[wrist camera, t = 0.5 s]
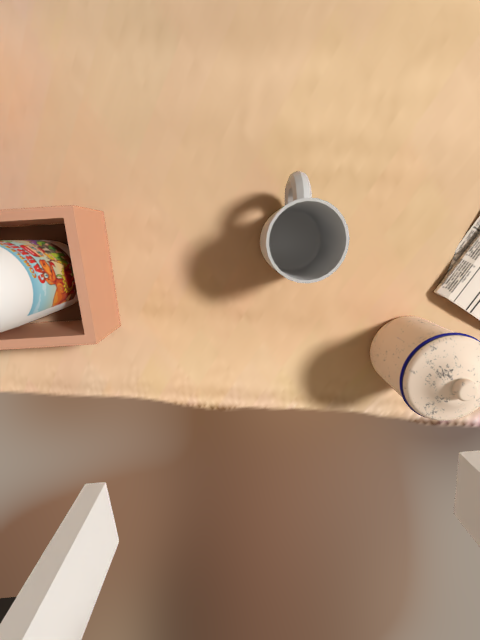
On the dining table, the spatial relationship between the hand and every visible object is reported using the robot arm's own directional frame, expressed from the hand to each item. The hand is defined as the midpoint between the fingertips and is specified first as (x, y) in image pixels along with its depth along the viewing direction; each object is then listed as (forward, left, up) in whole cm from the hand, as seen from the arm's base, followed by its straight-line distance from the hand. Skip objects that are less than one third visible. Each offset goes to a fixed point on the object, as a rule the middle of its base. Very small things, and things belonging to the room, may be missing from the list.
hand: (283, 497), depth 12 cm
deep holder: (-7, -22, -28) cm, 36 cm away
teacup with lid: (+5, +20, -28) cm, 35 cm away
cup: (-10, +5, -28) cm, 30 cm away
